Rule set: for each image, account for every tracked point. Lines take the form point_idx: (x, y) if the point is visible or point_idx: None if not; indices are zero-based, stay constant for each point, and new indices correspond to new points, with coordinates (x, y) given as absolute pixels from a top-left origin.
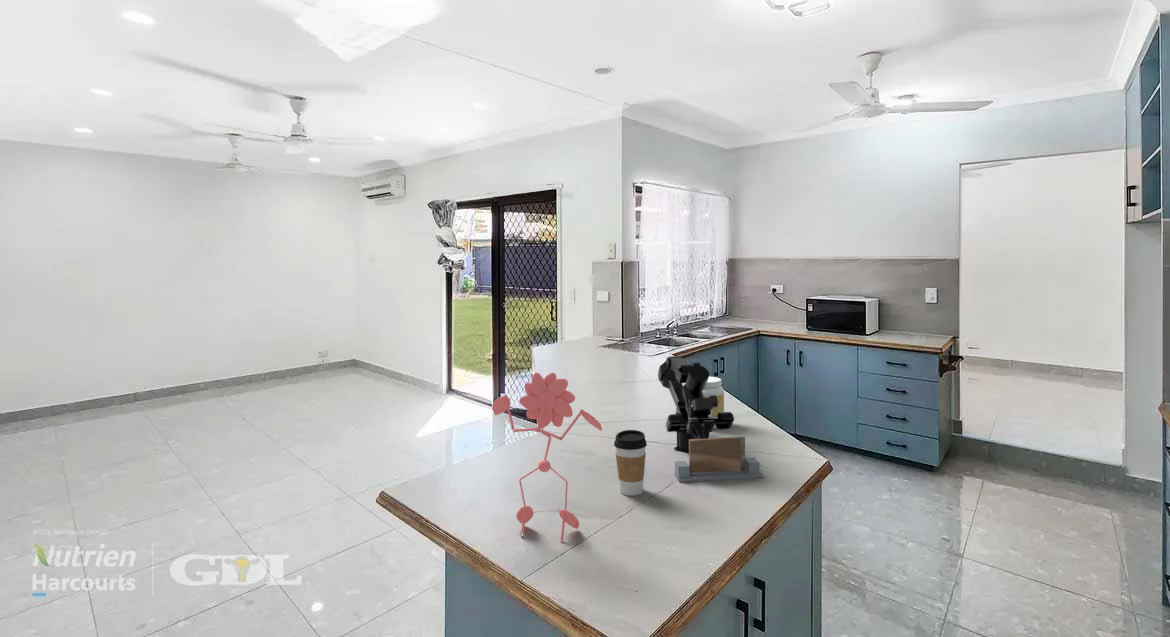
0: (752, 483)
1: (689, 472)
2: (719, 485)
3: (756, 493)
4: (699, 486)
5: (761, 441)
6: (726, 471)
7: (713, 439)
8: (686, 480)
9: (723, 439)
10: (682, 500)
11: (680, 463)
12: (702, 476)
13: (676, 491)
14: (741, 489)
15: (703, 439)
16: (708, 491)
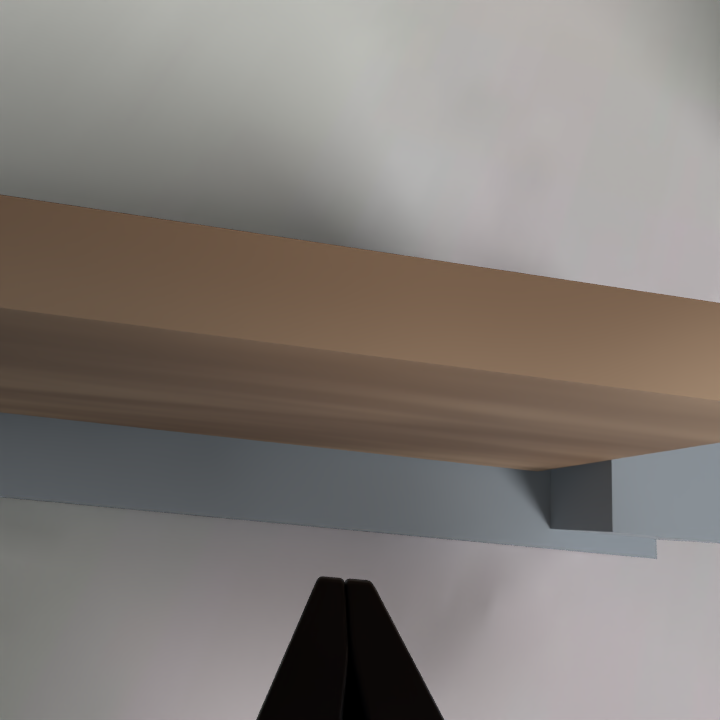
0: (5, 184)
1: (519, 497)
2: (319, 228)
3: (101, 12)
4: (489, 256)
5: None
6: (129, 428)
7: (325, 259)
8: None
9: (74, 208)
10: (672, 80)
11: (686, 466)
12: None
13: (684, 221)
14: (177, 108)
15: (554, 324)
16: (453, 152)
